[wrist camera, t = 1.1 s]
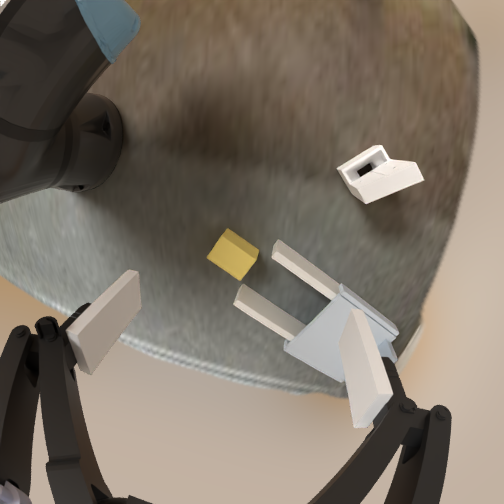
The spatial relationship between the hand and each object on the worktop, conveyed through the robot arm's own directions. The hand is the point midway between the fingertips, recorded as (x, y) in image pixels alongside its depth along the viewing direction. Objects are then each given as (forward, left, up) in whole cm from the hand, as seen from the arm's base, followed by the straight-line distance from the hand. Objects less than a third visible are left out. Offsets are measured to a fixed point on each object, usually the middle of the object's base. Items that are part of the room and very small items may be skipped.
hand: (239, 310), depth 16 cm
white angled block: (+5, +13, -20) cm, 24 cm away
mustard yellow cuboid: (-1, -5, -20) cm, 21 cm away
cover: (+17, -5, -16) cm, 24 cm away
